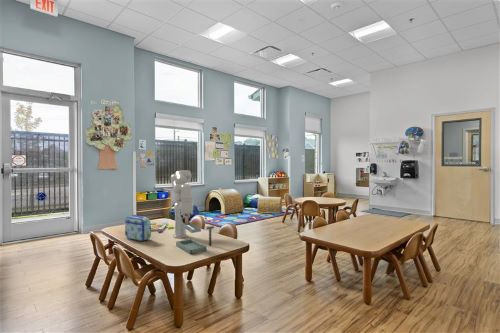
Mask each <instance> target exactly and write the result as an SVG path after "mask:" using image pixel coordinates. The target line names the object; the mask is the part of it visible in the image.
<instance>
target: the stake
mask: <svg viewBox="0 0 500 333" xmlns="http://www.w3.org/2000/svg"><path fill="white" fill-rule="evenodd" d="M214 228H215V227H214V225H210V226H207V227H206V230H208V246H209V247H212V243H213V242H212V229H214Z"/></svg>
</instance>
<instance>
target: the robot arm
mask: <svg viewBox="0 0 500 333" xmlns="http://www.w3.org/2000/svg"><path fill="white" fill-rule="evenodd" d="M191 179H192V172H191V171H190V170H189V169H187V170H186V169H185V170H177V171H176V172H175V173H173V174H171V176H170V182H171V186H172V189H173V192H174V193H173V194H174V195H173V196H174V200H175V204H174V206H173V209H174V230H175V231H174V234H173V238H174V239H175V238H176V239H182V238H183V239H185V238H186V237H188V234H187V233H186V231H187V229H185V228H184V227H182V226H181V223H185V216H188V217H189V219H188V222H191V221H190V218H191V216H193V214H194V202H193V195H192V192H191V191H192V186H191V185H190V184H187V183H189V182H190V181H191Z"/></svg>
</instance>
